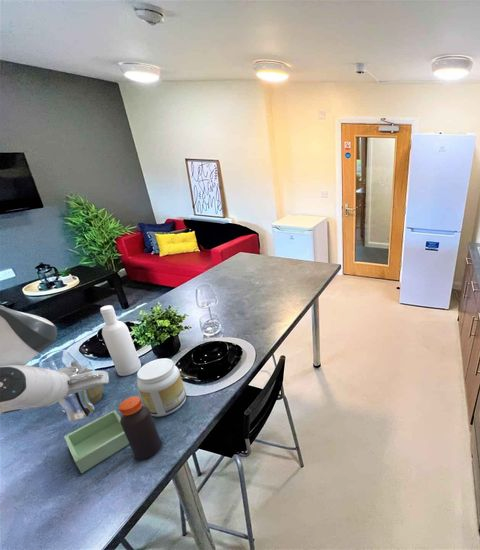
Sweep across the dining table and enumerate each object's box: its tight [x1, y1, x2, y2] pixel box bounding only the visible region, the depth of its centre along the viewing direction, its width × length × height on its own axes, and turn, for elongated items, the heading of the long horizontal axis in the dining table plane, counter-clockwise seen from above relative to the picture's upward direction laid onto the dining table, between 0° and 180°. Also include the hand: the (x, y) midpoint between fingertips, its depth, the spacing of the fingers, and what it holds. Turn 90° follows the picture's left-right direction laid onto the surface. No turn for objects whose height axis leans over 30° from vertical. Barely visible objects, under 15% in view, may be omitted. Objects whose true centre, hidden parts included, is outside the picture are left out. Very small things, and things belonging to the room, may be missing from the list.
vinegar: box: [118, 395, 162, 461], centre depth 86 cm, size 7×7×20 cm
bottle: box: [99, 304, 142, 377], centre depth 114 cm, size 8×8×30 cm
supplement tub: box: [136, 357, 187, 417], centre depth 102 cm, size 12×12×17 cm
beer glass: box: [55, 365, 96, 423], centre depth 83 cm, size 7×7×15 cm
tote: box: [63, 409, 130, 474], centre depth 90 cm, size 13×13×5 cm
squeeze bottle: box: [70, 360, 104, 405], centre depth 102 cm, size 8×8×18 cm
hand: (71, 390), depth 83 cm, fingers closed on beer glass, 7 cm apart
